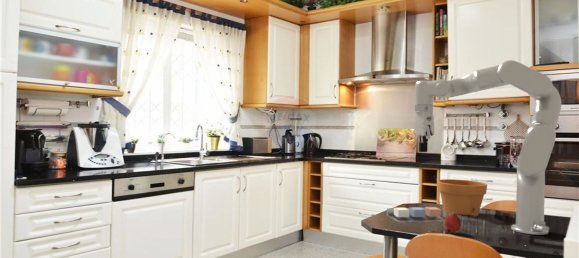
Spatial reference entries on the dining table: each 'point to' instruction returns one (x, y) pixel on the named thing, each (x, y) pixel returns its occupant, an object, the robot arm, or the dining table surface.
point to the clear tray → (412, 219)
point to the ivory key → (401, 212)
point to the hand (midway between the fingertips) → (423, 151)
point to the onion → (452, 222)
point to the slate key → (417, 212)
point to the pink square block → (433, 211)
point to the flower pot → (462, 196)
